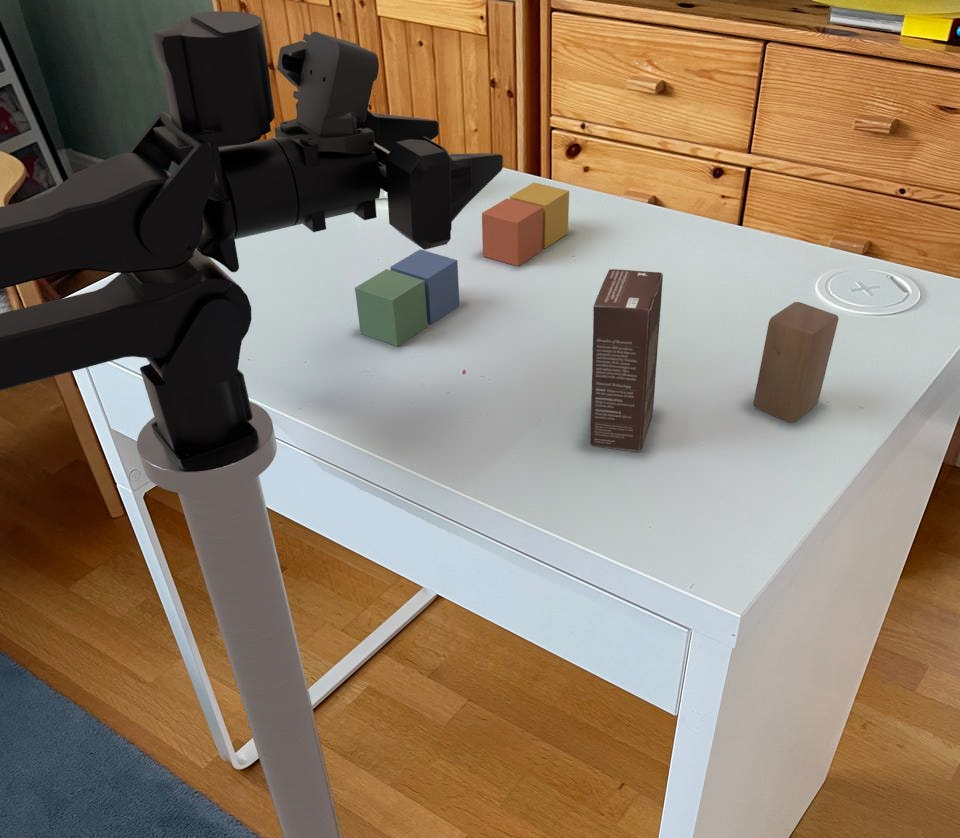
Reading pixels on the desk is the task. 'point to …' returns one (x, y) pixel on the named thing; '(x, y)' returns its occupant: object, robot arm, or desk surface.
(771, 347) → the wooden block
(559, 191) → the block line
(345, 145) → the robot arm
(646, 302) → the box
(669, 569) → the desk surface
